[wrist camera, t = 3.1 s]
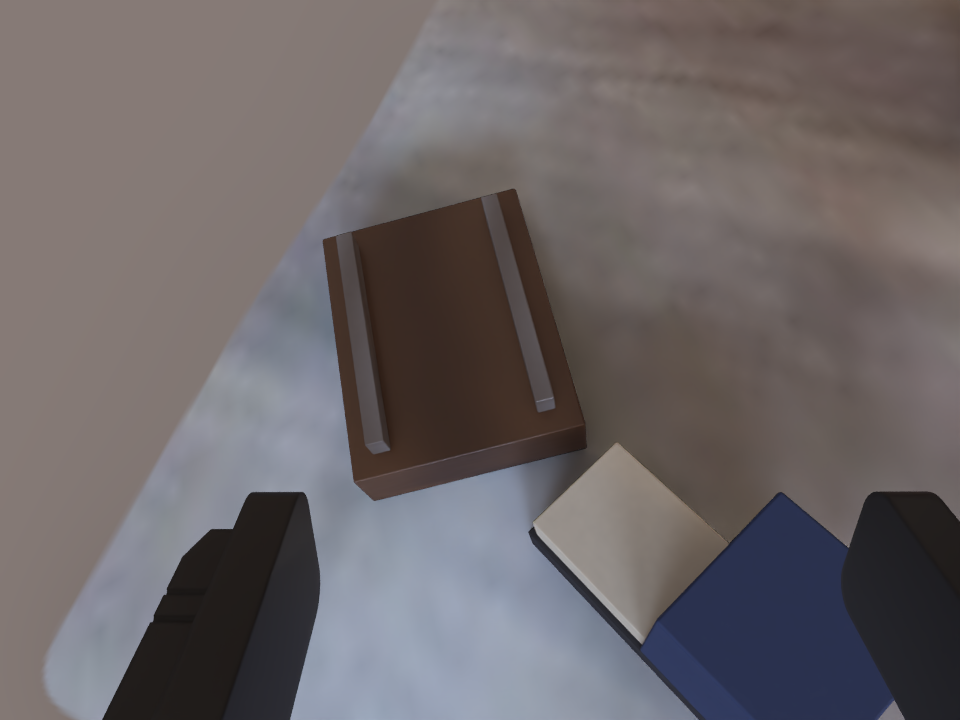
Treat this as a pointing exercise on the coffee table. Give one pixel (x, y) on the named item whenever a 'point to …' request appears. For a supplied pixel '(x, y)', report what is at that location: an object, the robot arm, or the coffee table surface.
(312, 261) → the coffee table surface
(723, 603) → the blue rectangular block
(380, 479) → the wooden base with rails
